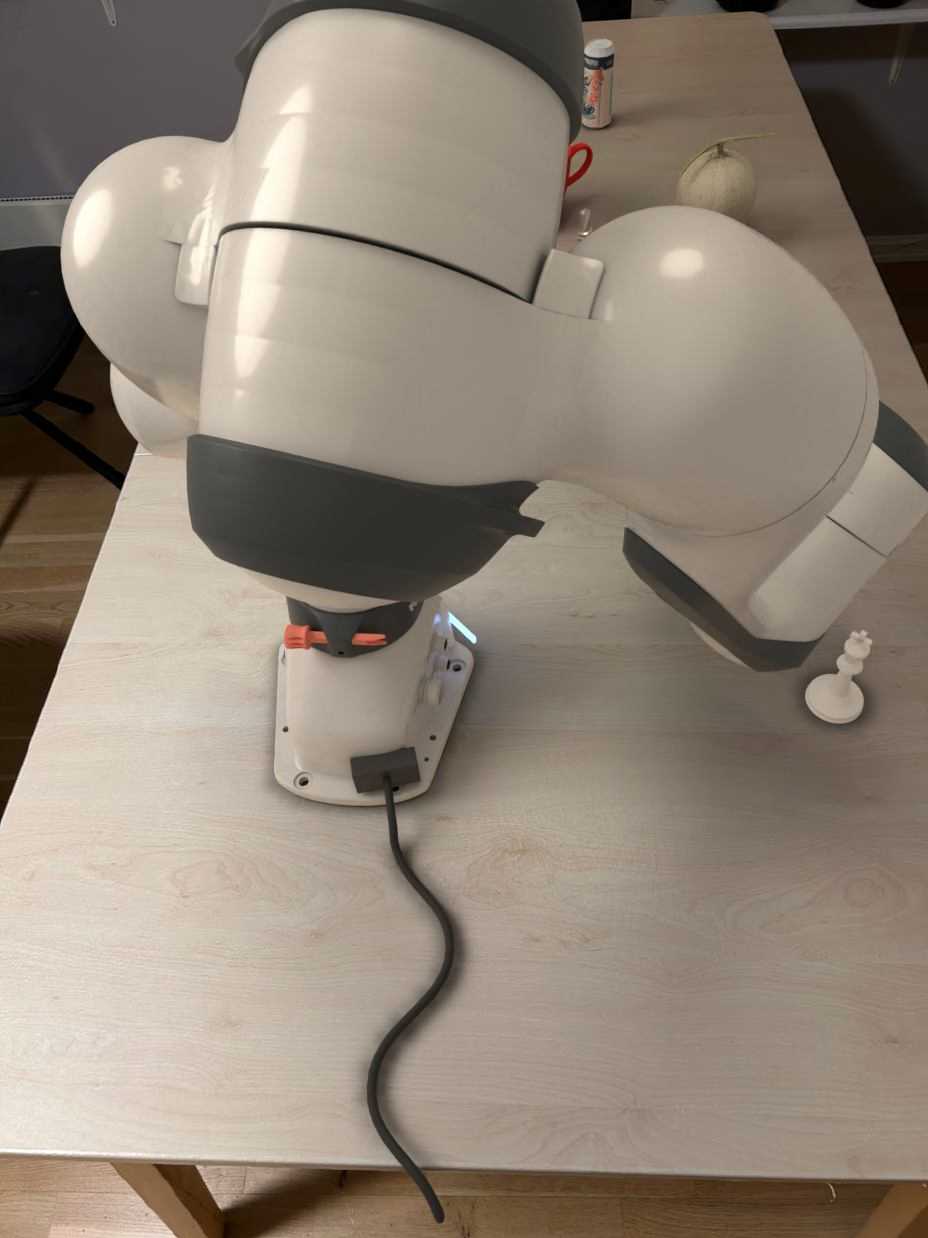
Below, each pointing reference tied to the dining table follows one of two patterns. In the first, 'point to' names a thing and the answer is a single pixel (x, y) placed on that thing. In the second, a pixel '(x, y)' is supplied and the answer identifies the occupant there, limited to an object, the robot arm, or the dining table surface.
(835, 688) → the chess piece
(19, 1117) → the dining table surface
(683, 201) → the fruit
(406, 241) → the robot arm
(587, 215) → the screw
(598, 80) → the white labeled bottle
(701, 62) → the dining table surface
